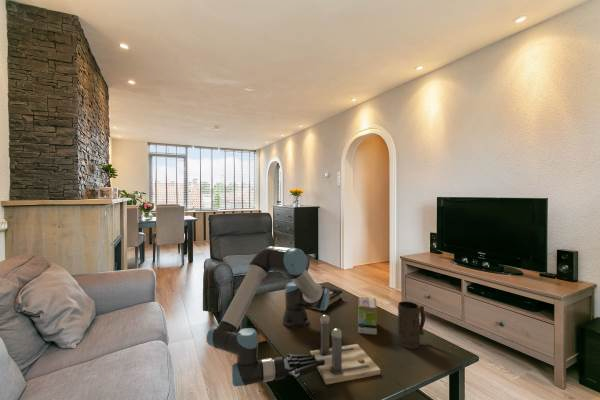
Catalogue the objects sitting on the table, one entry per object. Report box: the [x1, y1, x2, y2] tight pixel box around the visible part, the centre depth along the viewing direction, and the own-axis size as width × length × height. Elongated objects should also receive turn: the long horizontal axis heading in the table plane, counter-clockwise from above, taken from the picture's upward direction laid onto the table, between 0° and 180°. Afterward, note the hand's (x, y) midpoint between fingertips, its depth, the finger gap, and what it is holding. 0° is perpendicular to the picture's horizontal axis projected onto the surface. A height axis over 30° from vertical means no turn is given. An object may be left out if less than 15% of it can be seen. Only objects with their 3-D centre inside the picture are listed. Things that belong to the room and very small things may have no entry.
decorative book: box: [315, 286, 343, 312], centre depth 196 cm, size 19×8×30 cm
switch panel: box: [309, 343, 381, 385], centre depth 124 cm, size 21×24×2 cm
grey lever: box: [318, 314, 331, 356], centre depth 129 cm, size 4×4×18 cm
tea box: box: [357, 296, 378, 335], centre depth 158 cm, size 15×10×15 cm
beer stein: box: [396, 301, 426, 350], centre depth 142 cm, size 15×11×20 cm
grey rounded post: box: [330, 327, 343, 375], centre depth 116 cm, size 4×4×18 cm
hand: (331, 359), depth 114 cm, fingers closed
